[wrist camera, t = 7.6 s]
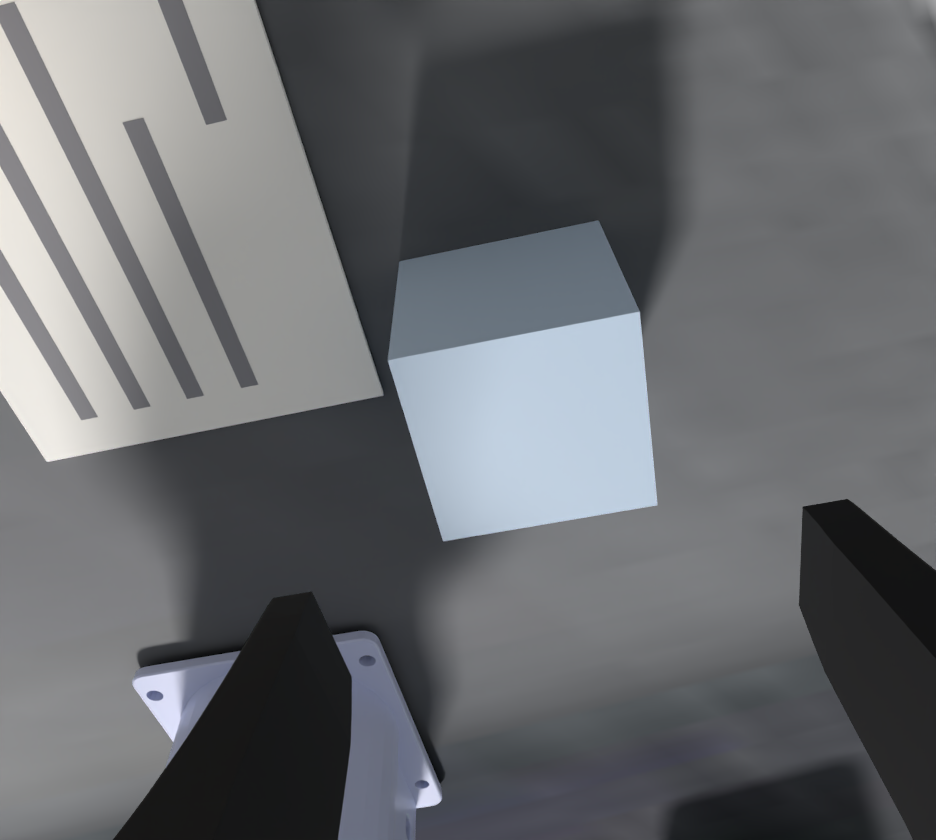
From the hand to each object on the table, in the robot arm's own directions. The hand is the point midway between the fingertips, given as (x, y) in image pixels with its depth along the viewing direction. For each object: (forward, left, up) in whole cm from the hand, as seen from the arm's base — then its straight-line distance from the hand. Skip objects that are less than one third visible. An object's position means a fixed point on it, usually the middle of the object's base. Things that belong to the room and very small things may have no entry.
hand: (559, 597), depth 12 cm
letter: (+5, +8, -8) cm, 13 cm away
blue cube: (0, 0, -9) cm, 9 cm away
